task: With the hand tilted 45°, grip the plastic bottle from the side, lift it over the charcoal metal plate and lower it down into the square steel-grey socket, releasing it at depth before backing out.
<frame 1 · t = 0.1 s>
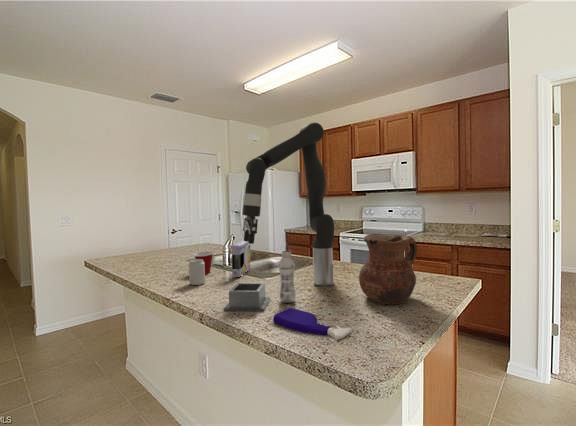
hand: (248, 242, 130), 22 cm above the countertop, tool pointing down, fingers open, 8 cm apart
plastic bottle: (287, 302, 119), on the countertop
plastic cup: (204, 274, 171), on the countertop
cake pan box: (241, 274, 168), on the countertop
rack socket: (248, 304, 117), on the countertop
spray bottle: (310, 328, 95), on the countertop
can: (197, 284, 150), on the countertop
jug: (387, 299, 120), on the countertop
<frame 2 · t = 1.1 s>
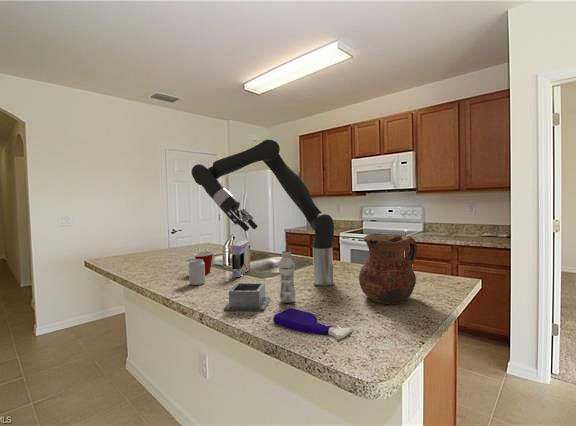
hand: (252, 228, 124), 29 cm above the countertop, tool tilted 45°, fingers open, 8 cm apart
nothing on the countertop moved.
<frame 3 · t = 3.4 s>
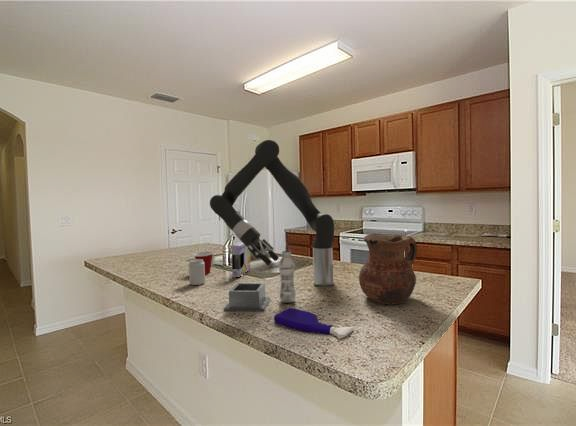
hand: (273, 261, 120), 16 cm above the countertop, tool tilted 45°, fingers open, 8 cm apart
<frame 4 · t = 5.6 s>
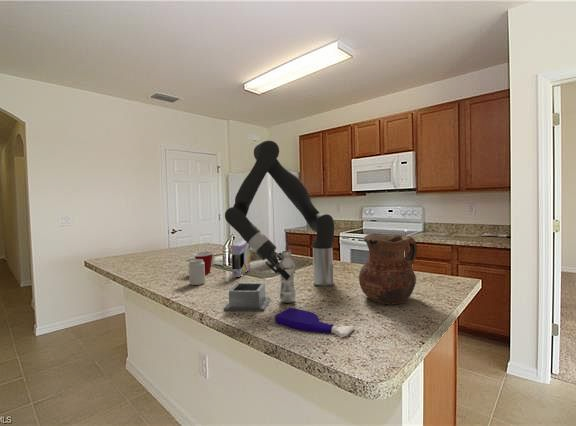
hand: (291, 276, 118), 10 cm above the countertop, tool tilted 45°, fingers closed on plastic bottle, 6 cm apart
plastic bottle: (287, 302, 119), on the countertop, touching gripper
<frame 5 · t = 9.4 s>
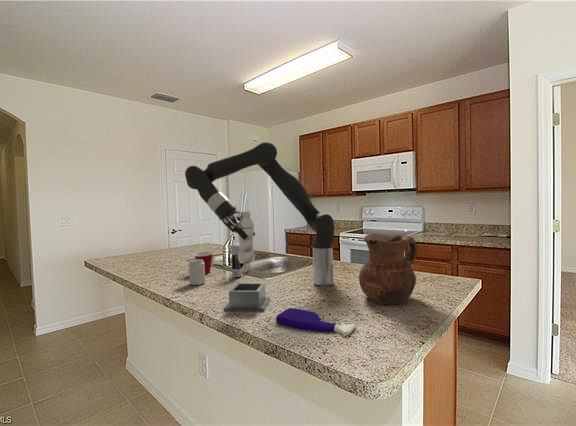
hand: (249, 236, 116), 26 cm above the countertop, tool tilted 45°, fingers closed on plastic bottle, 6 cm apart
plastic bottle: (246, 264, 116), point 16 cm above the countertop, touching gripper
when the fingers open (13 cm above the countertop, at t = 13.3 s): plastic bottle drops 1 cm, resting on rack socket.
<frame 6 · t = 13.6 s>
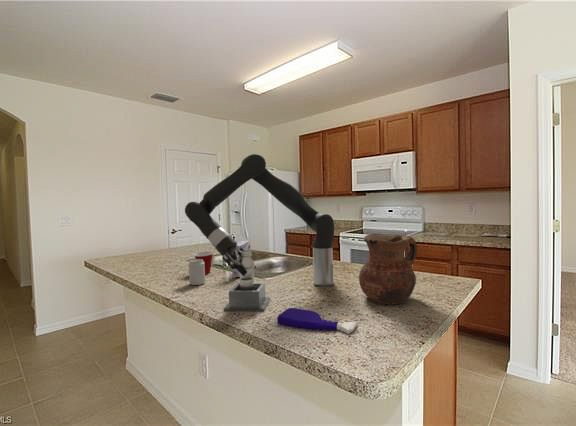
hand: (250, 271, 116), 13 cm above the countertop, tool tilted 45°, fingers open, 8 cm apart
plastic bottle: (247, 302, 117), point 1 cm above the countertop, touching rack socket
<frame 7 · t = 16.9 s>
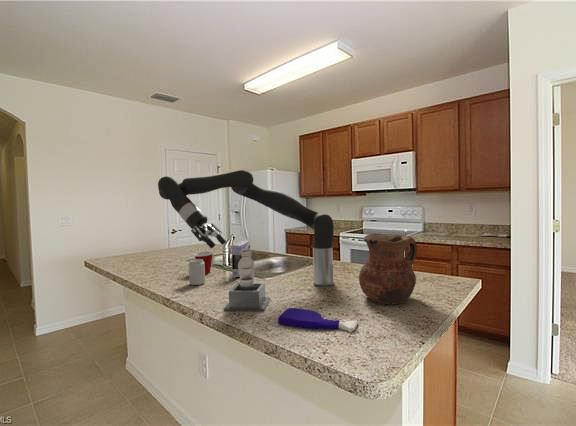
hand: (219, 245, 119), 23 cm above the countertop, tool tilted 45°, fingers open, 8 cm apart
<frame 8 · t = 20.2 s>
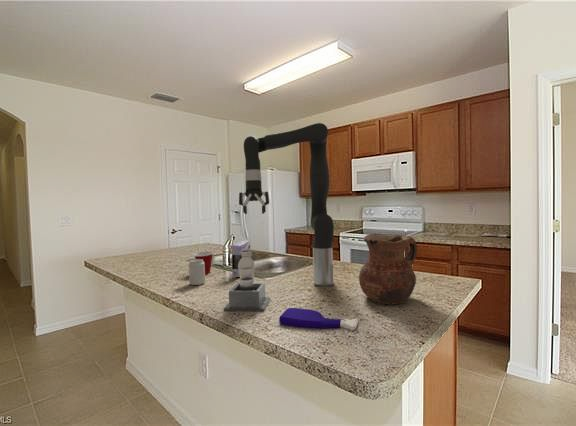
hand: (254, 213, 145), 34 cm above the countertop, tool pointing down, fingers open, 8 cm apart
at the end: plastic bottle 0.2 cm off-centre on the rack socket, point 0.8 cm above the rack socket's base; plastic bottle tilted 0°; the gripper is holding nothing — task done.
